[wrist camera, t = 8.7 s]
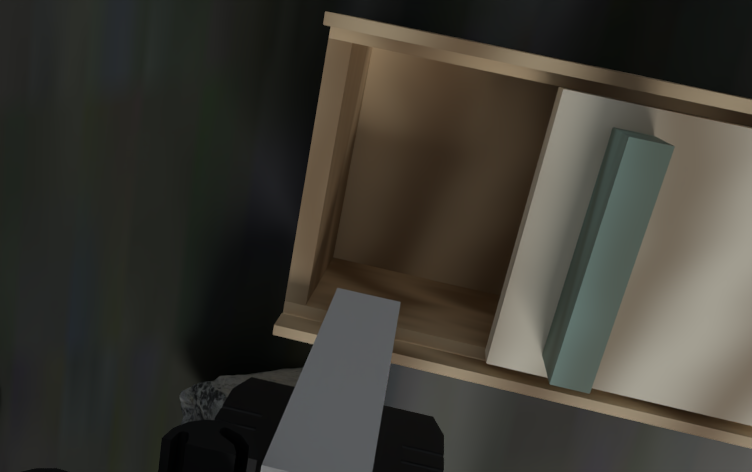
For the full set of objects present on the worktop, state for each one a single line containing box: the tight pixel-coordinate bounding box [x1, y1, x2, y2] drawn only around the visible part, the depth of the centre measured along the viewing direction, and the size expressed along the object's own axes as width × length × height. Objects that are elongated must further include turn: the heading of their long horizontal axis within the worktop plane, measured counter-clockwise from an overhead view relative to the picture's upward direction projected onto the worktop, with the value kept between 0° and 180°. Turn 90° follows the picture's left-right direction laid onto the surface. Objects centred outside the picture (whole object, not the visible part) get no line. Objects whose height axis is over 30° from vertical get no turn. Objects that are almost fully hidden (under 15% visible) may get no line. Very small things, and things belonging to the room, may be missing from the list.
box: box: [273, 11, 752, 449], centre depth 31 cm, size 22×14×10 cm, turn 80°
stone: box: [179, 367, 303, 425], centre depth 38 cm, size 10×10×10 cm
